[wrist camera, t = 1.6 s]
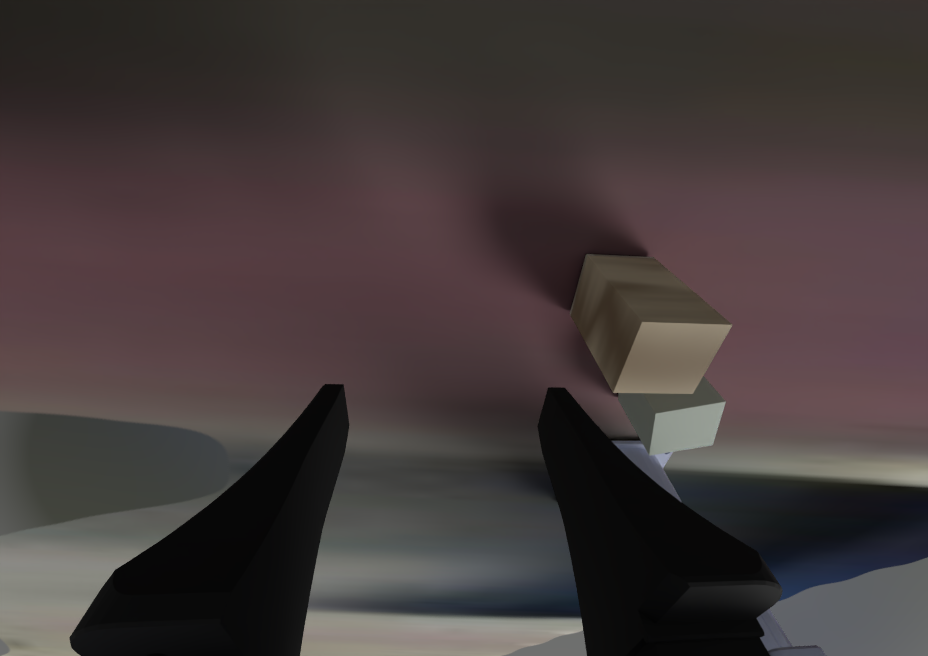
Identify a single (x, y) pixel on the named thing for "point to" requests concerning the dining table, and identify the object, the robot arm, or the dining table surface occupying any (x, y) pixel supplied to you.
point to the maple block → (645, 325)
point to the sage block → (675, 418)
